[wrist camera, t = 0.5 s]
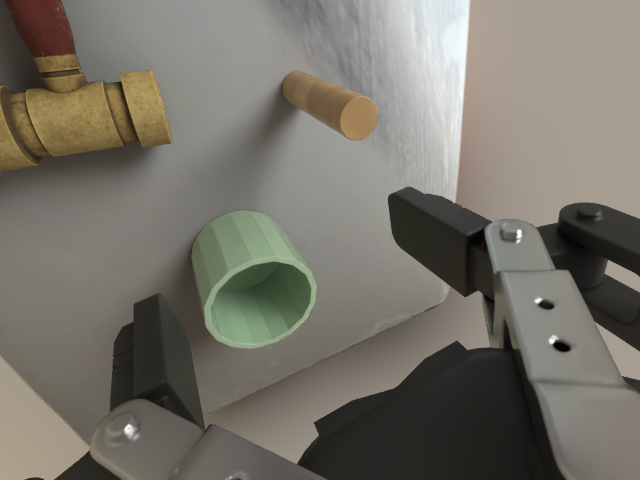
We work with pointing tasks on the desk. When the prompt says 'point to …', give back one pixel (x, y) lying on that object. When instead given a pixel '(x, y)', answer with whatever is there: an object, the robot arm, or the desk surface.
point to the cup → (250, 280)
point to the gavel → (72, 98)
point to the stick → (331, 104)
